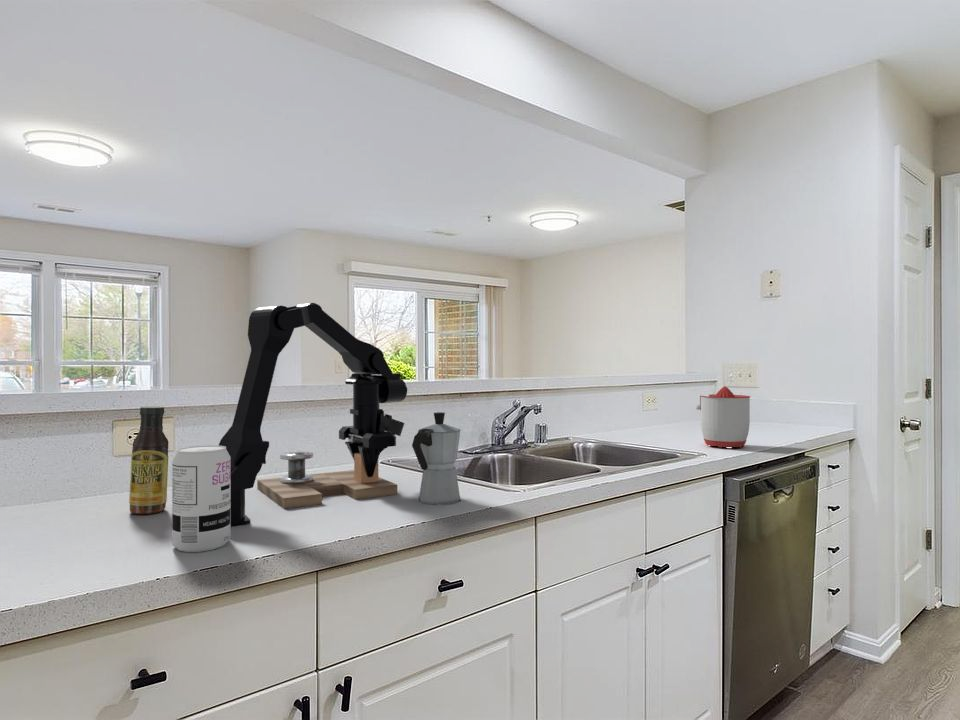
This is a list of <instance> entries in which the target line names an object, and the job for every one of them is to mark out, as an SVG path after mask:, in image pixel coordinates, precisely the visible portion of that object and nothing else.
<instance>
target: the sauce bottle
mask: <svg viewBox="0 0 960 720" xmlns="http://www.w3.org/2000/svg"><path fill="white" fill-rule="evenodd" d="M164 414H165V406H160V405H159V406H157V405H156V406H155V405H153V406H152V405H149V406H148V405H147V406H145V405H144V406H140V409H139V415H140V427H139V431H138V433H137V434H136V437H135V438H134V440H133V442H132V449H131V457H130V477H129V480H130V481H129V500H128V503H129V513H131V514H135V515H148V514H149V515H151V514H153V515H154V514H158V513H160V512H163V511H164V510H165V509H166V507H167V505H166V504H167V501H168V499H167V498H168V497H167V496H168V475H169V474H168V472H169V439H168V438H167V436H166V435H165V433H164V431H163V429H164V426H163V420H164Z"/></svg>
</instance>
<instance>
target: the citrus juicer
mask: <svg viewBox="0 0 960 720" xmlns="http://www.w3.org/2000/svg"><path fill="white" fill-rule="evenodd" d="M750 398H751V395H745V394H744V395H742V394H734V393H733V392H732V391H731V389H729V388H728V387H727V386H723V387H722V388H720V389H719V390H718V391H717V393H715V394H713V393H712V394H708V395H702V394H700V395H699V404H698V405H697V406H696V410H697V411H700V426H701V433H702V436H703V441H704V443H705V445H706V444H707V445H706V446H708V445H710V446H718V447H717V448H722V447H740V448H743V447H742V446H744V447H745V445H746V443H747V439H748V436H749V431H750V418H751V415H750V414H751V412H750V410H751V409H750V406H751V404H750V402H751V401H750V400H751V399H750Z"/></svg>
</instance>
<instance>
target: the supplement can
mask: <svg viewBox="0 0 960 720" xmlns="http://www.w3.org/2000/svg"><path fill="white" fill-rule="evenodd" d="M171 467H172V468H171V471H172V472H171V473H172V474H171V476H172V477H171V478H172V479H171V481H172V482H171V488H172V490H171V502H172V503H171V504H172V505H171V506H172V507H171V510H172V511H171V515H172V516H171V520H172V521H171V530H172V531H171V533H172V535H171V541H172V547H175V548H176V550H177V551H180V552H185V553H200V552H207V551H213V550H216V549H220V548H222V547H224V546H225V545H226V544H227V542H228V541H229V540H230V539H231V537H232V536H231V535H232V534H231V526H232V525H231V457H230V455H229V453H228V452H227V450H226V447H225V446H218V445H216V444H215V445H212V444H211V445H209V444H208V445H207V444H206V445H195V446H193V445H192V446H185V447H180V448H178V449H176V452H175V454H174V455H173V457H172V461H171Z"/></svg>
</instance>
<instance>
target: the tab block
mask: <svg viewBox="0 0 960 720" xmlns="http://www.w3.org/2000/svg"><path fill="white" fill-rule="evenodd" d="M353 463H354V465H353V468H354V469H353V470H354V480H355V481H357V482H359V483H368V482H377V481H378V477H379V459H378V460H377V464H376V467H375V470H374V474H373V476H372V477H368V476H367V474H366V471H365V468H364V464H363V461H362V458H361V455H360V453H354V459H353Z"/></svg>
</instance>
